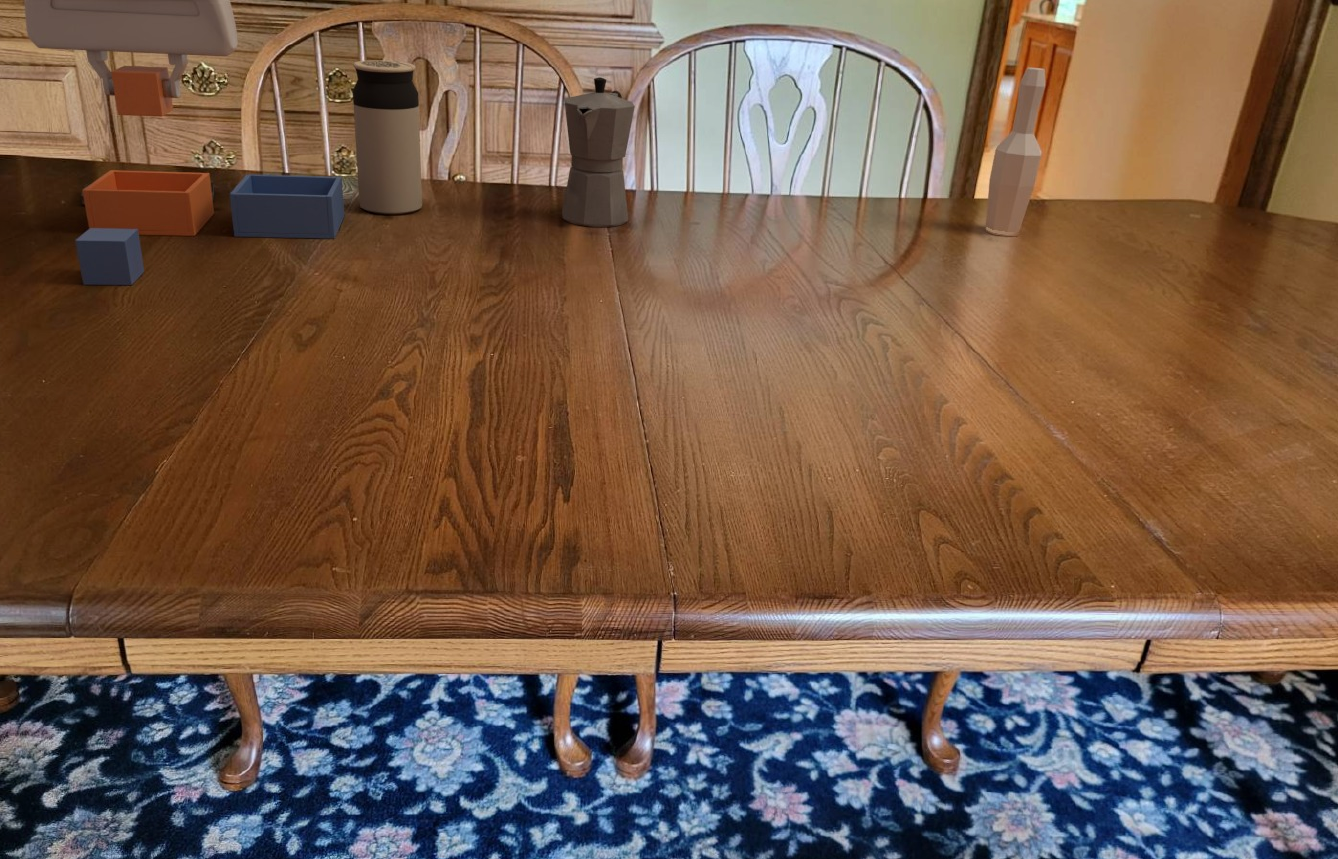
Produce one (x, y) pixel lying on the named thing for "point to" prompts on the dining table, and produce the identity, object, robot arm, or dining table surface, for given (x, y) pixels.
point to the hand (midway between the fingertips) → (144, 96)
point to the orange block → (141, 91)
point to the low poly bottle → (1016, 160)
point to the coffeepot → (597, 157)
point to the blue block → (110, 256)
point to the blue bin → (287, 206)
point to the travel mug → (387, 137)
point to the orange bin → (150, 202)
